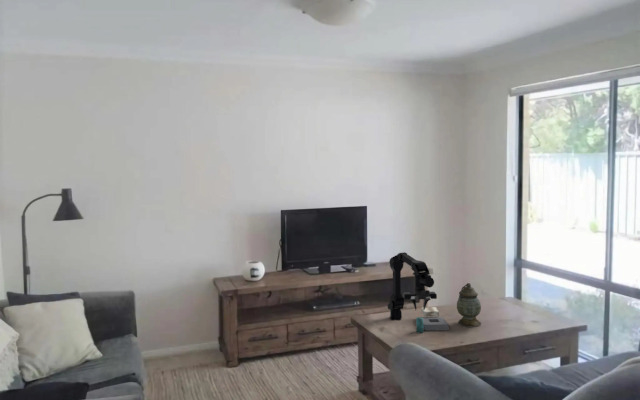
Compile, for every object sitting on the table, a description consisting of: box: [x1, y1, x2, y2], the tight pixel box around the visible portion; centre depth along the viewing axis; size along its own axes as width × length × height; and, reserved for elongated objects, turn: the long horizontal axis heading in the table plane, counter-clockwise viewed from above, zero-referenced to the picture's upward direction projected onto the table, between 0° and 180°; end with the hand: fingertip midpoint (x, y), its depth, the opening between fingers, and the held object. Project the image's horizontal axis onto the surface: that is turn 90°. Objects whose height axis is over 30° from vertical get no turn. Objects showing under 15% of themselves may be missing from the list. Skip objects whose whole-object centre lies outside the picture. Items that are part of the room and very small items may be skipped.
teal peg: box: [415, 316, 424, 334], centre depth 288 cm, size 4×4×8 cm
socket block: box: [420, 316, 449, 331], centre depth 297 cm, size 14×14×4 cm
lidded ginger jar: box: [456, 282, 482, 328], centre depth 300 cm, size 14×14×25 cm
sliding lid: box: [420, 306, 440, 317], centre depth 308 cm, size 9×9×3 cm
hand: (419, 309), depth 287 cm, fingers open, 4 cm apart
